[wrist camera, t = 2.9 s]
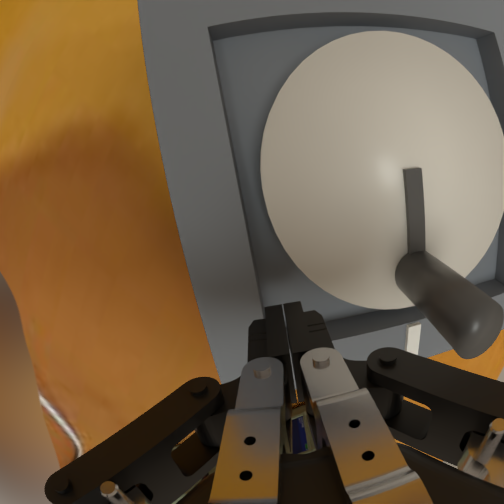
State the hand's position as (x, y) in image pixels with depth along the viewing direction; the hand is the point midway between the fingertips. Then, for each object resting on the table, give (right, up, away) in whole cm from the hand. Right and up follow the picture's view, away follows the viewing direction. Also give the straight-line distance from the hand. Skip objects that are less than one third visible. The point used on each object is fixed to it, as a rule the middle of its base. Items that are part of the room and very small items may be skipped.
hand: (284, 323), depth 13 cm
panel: (+6, +8, +4) cm, 11 cm away
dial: (+6, +7, +2) cm, 10 cm away
